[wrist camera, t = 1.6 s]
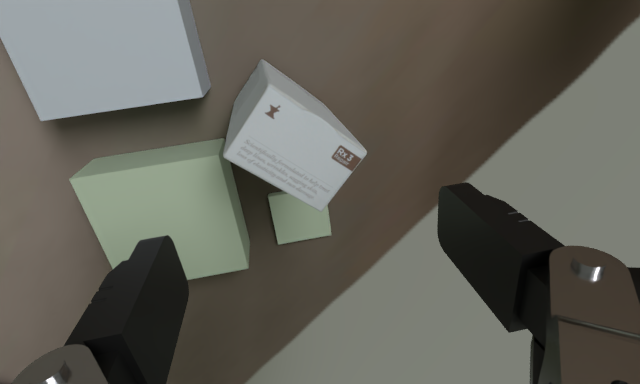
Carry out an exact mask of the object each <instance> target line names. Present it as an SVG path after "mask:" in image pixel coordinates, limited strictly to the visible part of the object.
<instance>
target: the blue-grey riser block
mask: <svg viewBox="0 0 640 384" xmlns="http://www.w3.org/2000/svg"><path fill="white" fill-rule="evenodd" d="M0 38H1V40H2V42H3V44H4V46H5V48H6V50H7V52H8V54H9V56H10V58H11V60H12V62H13V64H14V67H15V69H16V71H17V73H18V75H19V77H20V79H21V81H22V83H23V85H24V87H25V89H26V91H27V93H28V95H29V97H30V100H31V102H32V104H33V106H34V108H35V110H36V112H37V114H38V116H39V118H40V120H41V121H45V120H52V119H59V118H66V117H72V116H79V115H86V114H93V113H99V112H106V111H113V110H120V109H126V108H133V107H140V106H147V105H153V104H160V103H167V102H174V101H180V100H187V99H194V98H201V97H203V96H204V95H205V94H206V93H207V91H208V90H209V89H210V88H211V84H210V80H209V76H208V72H207V68H206V64H205V60H204V56H203V53H202V49H201V45H200V41H199V37H198V33H197V29H196V25H195V21H194V17H193V13H192V9H191V5H190V1H189V0H0Z"/></svg>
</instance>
